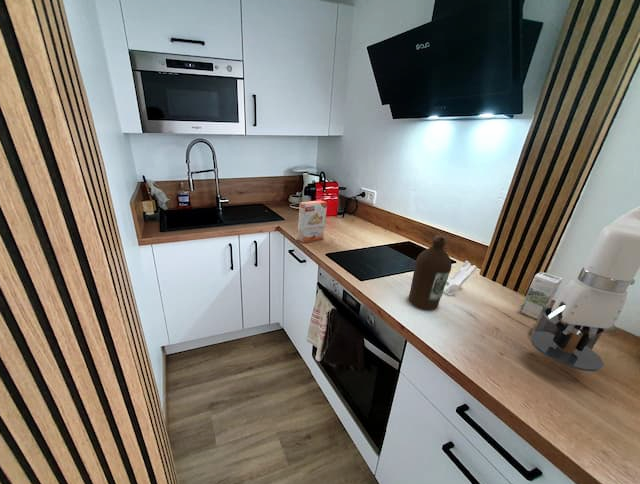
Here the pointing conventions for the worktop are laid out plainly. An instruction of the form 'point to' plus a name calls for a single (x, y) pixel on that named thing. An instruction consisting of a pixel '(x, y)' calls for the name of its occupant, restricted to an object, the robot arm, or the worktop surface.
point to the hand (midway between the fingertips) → (567, 345)
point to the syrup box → (540, 294)
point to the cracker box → (311, 221)
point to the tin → (547, 326)
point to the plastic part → (458, 278)
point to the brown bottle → (430, 275)
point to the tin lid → (567, 351)
